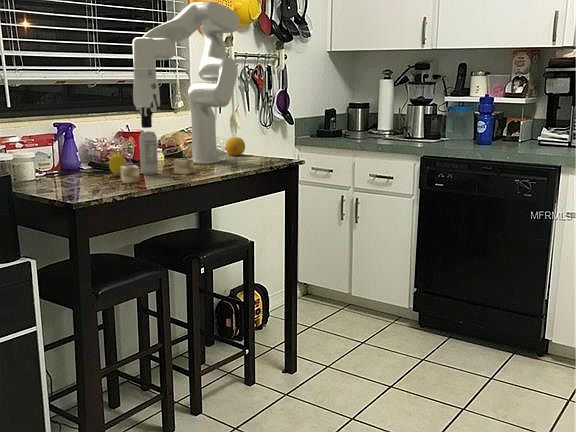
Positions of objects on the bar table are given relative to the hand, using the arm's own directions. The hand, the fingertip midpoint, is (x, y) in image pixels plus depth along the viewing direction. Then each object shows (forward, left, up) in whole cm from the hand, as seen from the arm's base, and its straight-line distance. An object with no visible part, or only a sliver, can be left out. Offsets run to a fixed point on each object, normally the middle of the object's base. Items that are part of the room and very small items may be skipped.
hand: (146, 127), depth 221 cm
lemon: (+10, -5, -17) cm, 20 cm away
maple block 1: (+13, +7, -17) cm, 22 cm away
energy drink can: (0, 0, -17) cm, 17 cm away
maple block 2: (-10, +7, -17) cm, 21 cm away
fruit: (-53, -11, -17) cm, 57 cm away
